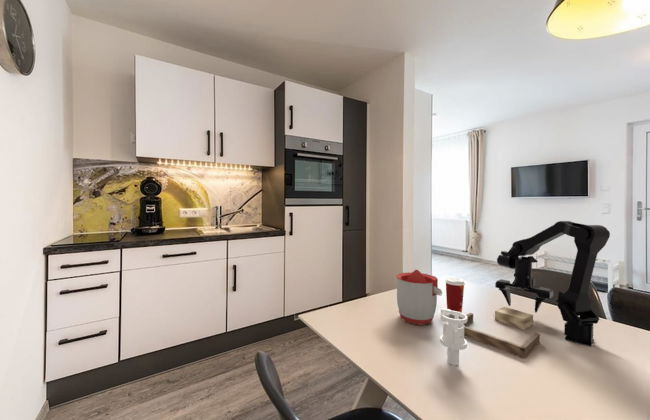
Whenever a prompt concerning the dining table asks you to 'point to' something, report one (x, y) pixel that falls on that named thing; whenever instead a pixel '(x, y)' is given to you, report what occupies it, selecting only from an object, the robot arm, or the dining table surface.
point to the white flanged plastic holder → (453, 334)
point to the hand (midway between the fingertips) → (522, 308)
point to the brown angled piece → (501, 340)
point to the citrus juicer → (417, 297)
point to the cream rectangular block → (514, 317)
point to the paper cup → (454, 294)
